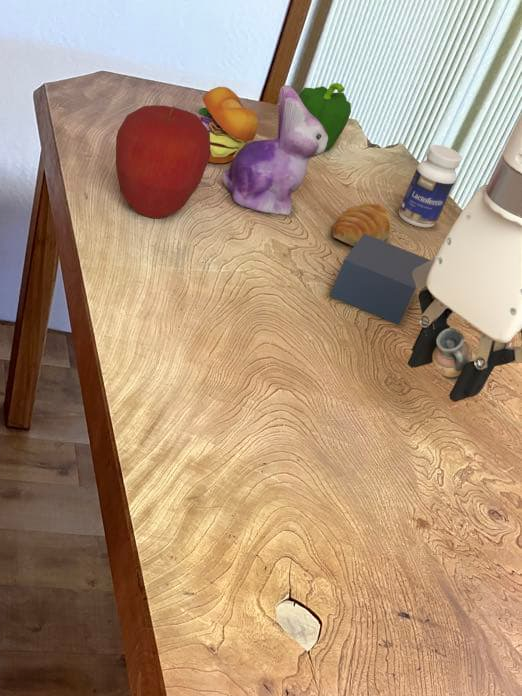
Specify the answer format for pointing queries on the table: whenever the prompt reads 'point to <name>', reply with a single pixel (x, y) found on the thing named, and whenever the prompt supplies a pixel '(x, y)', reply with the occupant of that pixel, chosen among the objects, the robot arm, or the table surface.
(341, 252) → the table surface
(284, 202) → the figurine
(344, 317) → the table surface
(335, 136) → the bell pepper
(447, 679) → the table surface
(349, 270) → the block
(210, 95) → the cheeseburger
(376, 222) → the pastry
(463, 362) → the vase
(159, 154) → the apple
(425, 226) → the pill bottle
